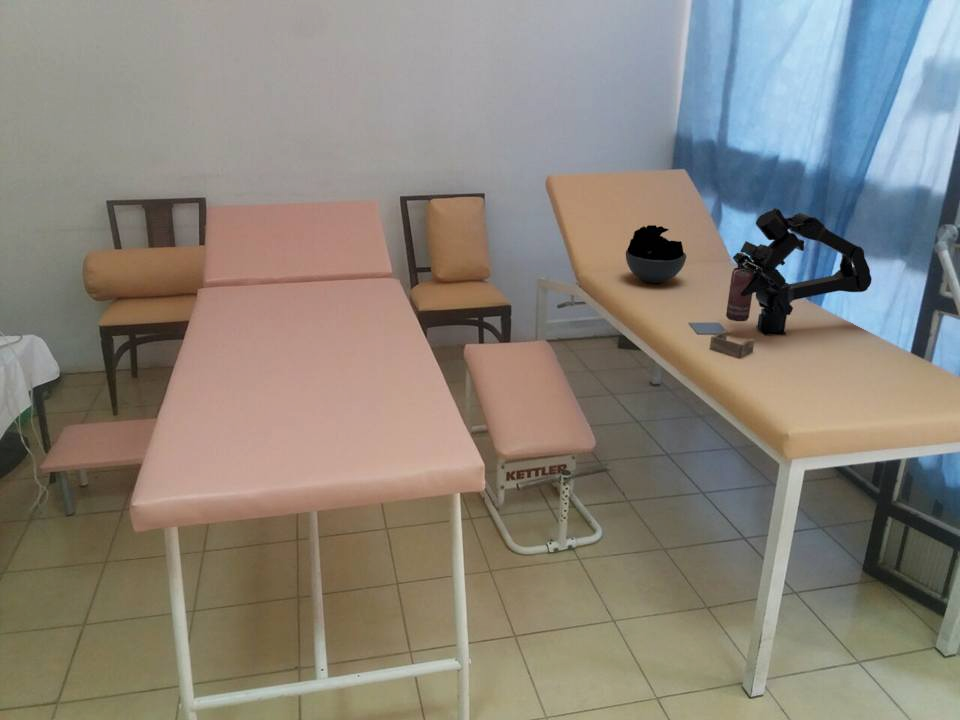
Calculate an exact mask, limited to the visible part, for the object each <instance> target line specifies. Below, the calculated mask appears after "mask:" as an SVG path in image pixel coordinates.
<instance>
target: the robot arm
mask: <svg viewBox="0 0 960 720" xmlns="http://www.w3.org/2000/svg"><path fill="white" fill-rule="evenodd" d="M755 225H756V226H757V228H758V229H759V230H760V231H761V233H762V234H763V235H764V237H765V238H766V239H767V240H768V241H771V242H770V243H769V244H768V245H766V244H762V243H760V244H759V245H758V246H757V245H755V244H754V243H751V242H748V241H747V240H746V241H744V243H743V245H742V247H741V249H740V251H739V252H737V253H736V254H735V255H733V256H732V260H733V261H734V262H735V263H736V265H737V268H739V267H742V268H750V269H753V270H754V272H755V274H754V278H753V280H752V281H751V282H750V283H749V285H748V286H747V287H746V288H745V289H744V290H743V291H742V292H741V294H740V295H741V296H742V297H744V296H747V295H749V294H752V295H753V294H754V293H755V299H756V300H757V301H758V305H759V307H761V310H760V311H761V312H760V313H759V314H758V318H757V323H756V324H757V325H756V327H755V328H757V329H758V331H759V332H761V333H762V334H763V335H767V336H769V335H773V336H774V335H775V336H778V335H782V336H783V335H785V336H786V335H787V332H786V330H785V328H786V323H787V316H789V315H791V314H792V312H793V310H794V307H793V306H792V304H791V303H792V302H793V301H796V300H800V299H805V298H810V297H816V296H819V295H825V294H830V293H835V292H847V293H864V292H866V291H867V290H868V288H869V287H870V286H871V284H872V280H873V279H872V275H871V270H870V269H871V268H870V267H869V264H868V262H867V260H866V258H865V251H864V249H863V248H862V247H861V246H858V245H856V244H854V243H852V242H850V241H849V240H846V239H845V238H843V237H841V236H839V235H837V234H836V233H834V232H832V231H831V230H829V229H828V228H827V227H826V226H825V224H823V222H822V221H820V220H819V219H818V218H816V217H815V216H811V215H808V214H805V213H804V212H803V213H802V212H799V213H796V214H795V215H793V216H790V217H785V216H784V215H783V214H782V211H781V210H780V209H778V208H776V207H774V208H773V209H772V210H770V211H766V212H765V213H763V214H761V215H759V217H757V219H756V221H755ZM797 235H798V236H799V237H803V238H804V239H808V240H811V241H815V242H818V243H821V244H823V245H824V246H826V247H828V248H830V249H832V250H833V251H835V252H837V253H839V254H841V260H840V263H839V270H837V271H836V272H835V273H834V274H833V275H829V276H823V277H818V278H813V279H808V280H802V281H797V282H793V283H788V282H786V281H787V279H786V278H785V277H784V276H783V274H782V273H780V271H779V270H778V269H777V268H778V266H780V265H781V266H785V264H786V261H784V260H785V259H786V258H788V257H789V256H790V255H791V254H792V252H794V251H795V250H798V251H802V252H804V251H805V240H803V239H799V238H798V236H797Z"/></svg>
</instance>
